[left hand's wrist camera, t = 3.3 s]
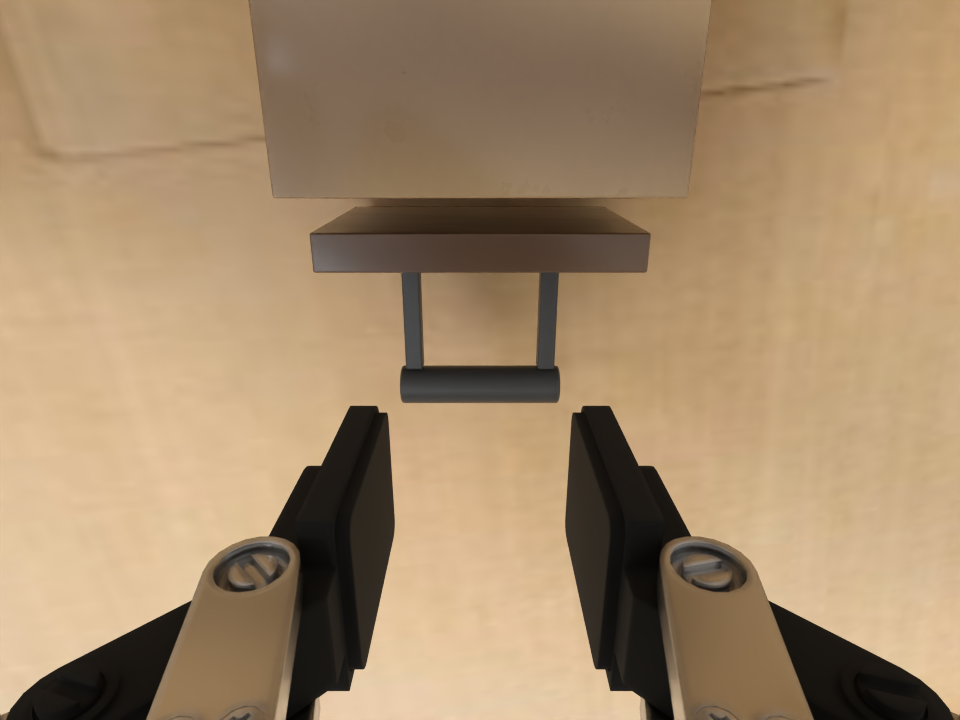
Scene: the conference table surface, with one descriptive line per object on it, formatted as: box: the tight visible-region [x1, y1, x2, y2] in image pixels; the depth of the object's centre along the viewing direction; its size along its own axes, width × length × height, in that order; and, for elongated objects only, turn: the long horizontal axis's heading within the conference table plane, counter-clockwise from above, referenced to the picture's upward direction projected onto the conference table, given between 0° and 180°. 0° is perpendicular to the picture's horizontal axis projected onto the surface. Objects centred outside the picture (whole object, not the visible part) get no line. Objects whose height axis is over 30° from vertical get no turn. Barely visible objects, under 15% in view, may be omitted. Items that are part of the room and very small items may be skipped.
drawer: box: [310, 207, 651, 403], centre depth 18 cm, size 25×10×7 cm, turn 0°
